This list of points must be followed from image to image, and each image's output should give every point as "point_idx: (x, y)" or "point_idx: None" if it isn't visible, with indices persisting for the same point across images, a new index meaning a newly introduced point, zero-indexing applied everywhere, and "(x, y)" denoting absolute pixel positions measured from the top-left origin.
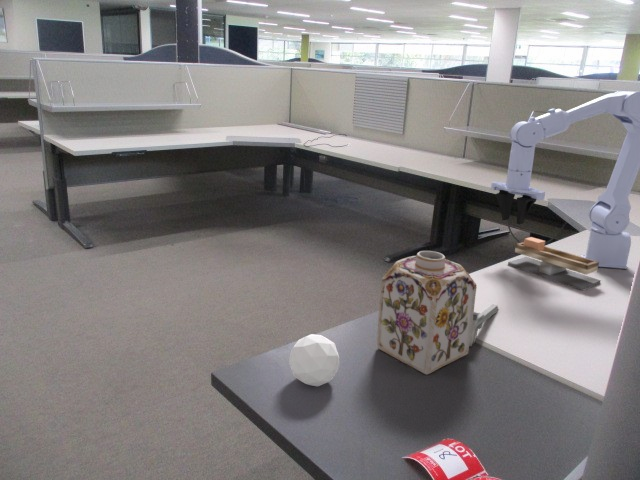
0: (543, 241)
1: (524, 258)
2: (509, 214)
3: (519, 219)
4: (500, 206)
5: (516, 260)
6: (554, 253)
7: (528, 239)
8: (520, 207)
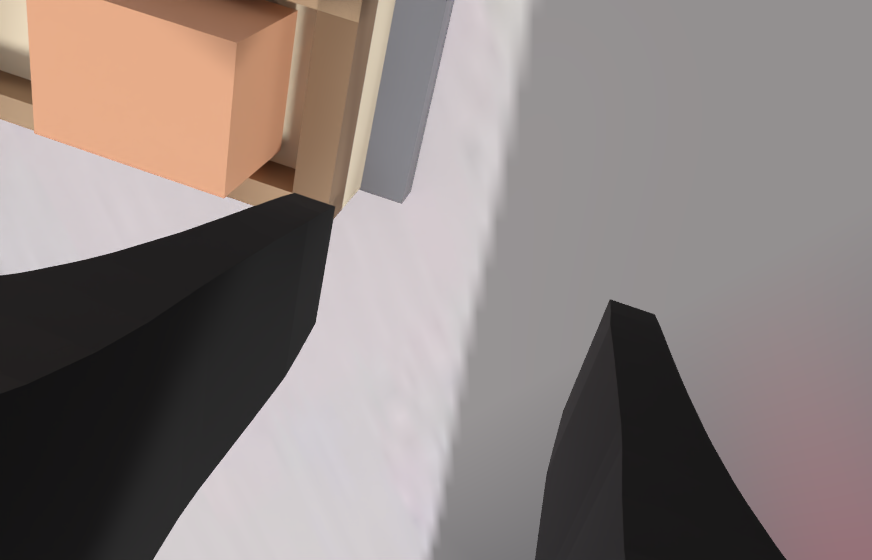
0: (33, 95)
1: (395, 140)
2: (549, 482)
3: (236, 216)
4: (731, 494)
5: (427, 13)
6: (5, 71)
7: (185, 49)
8: (22, 303)
